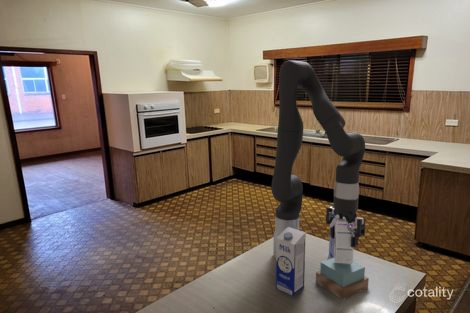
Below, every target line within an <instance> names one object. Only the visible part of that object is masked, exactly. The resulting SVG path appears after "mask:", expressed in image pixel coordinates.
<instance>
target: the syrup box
mask: <svg viewBox="0 0 470 313" xmlns="http://www.w3.org/2000/svg"><path fill="white" fill-rule="evenodd" d="M350 226H351V227H354V222H352V223H350ZM353 230H354V229H353ZM351 236H352V235H351V232H350V231H349V230H348V228H347V223H346V222H345V221H343V219H340V218H339V219H335V234H334V259H335V262H336V263H345V264H352V263H353V261H354V248H352V247H351Z"/></svg>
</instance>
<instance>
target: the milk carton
mask: <svg viewBox="0 0 470 313" xmlns="http://www.w3.org/2000/svg"><path fill="white" fill-rule="evenodd" d="M306 233H307V232H306V231H302V230H300V229H299V230H297V229H294V228H290V227H287V228H286V229H285V230H284V231H283V232H282V233H281V234H280V235H279V236H278V237H277V248H276V258H275V260H276V261H275V262H276V263H275V265H276V266H275V268H276V270H275V273H276V274H275V289H276V290H278V291H281V292H283V293H284V294H286V295H289V296H291V297H294V296H296V295H297V294H298V293H299V292H301V290H303V289H304V288H305V270H306V268H305V266H306V262H305V261H306V238H307V237H306Z"/></svg>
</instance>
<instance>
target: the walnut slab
mask: <svg viewBox="0 0 470 313" xmlns="http://www.w3.org/2000/svg"><path fill="white" fill-rule="evenodd" d="M369 279H370V278H369V277H367V276H365V275H364V279H361V280H359V281H357V282H354V283H352V284H350V285H347V286H345V287H342V286H340V285H339V284H337V283H336V282H334V281H332V280H331V279H329V278H328V277H326V276H324V275H323V274H321V273H320V270H319V271H316V272H315V282H316V283H317V284H319V286H321V287H323V288H325V289H327V290H328V291H329V292H331V293H333V294H334V295H336V296H337V297H338V298H340V299H342V300H345V299H347V298H349V297H352V296H354V295H356V294H359V293H360V292H362V291H364V290H367V289H368V288H369V282H370V281H369Z"/></svg>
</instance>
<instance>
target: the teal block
mask: <svg viewBox="0 0 470 313" xmlns="http://www.w3.org/2000/svg"><path fill="white" fill-rule="evenodd" d="M365 269H366V266H365V265H362V264H359V263H358V262H355V261H354V260H353V263H352V264H345V263H336V262H335V259H334V258H331V259H329V258H328V259H325V260H323V261H320V270H319V271H320V273H321V274H323V275H324V276H326V277H328V278H329V279H331V280H332V281H334V282H336V283H337V284H339V285H340V286H342V287H345V286H347V285H350V284H352V283H354V282H357V281H359V280H361V279H364V276H365V272H366V271H365Z"/></svg>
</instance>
